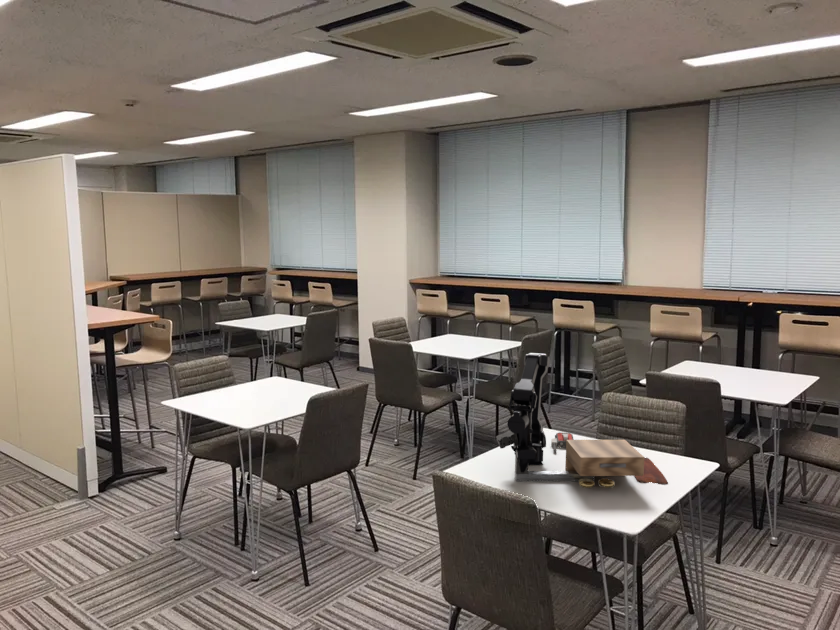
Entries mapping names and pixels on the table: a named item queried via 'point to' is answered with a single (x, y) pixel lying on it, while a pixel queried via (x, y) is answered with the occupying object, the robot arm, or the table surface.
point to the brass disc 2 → (606, 483)
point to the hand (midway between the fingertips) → (521, 470)
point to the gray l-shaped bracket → (546, 475)
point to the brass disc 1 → (586, 483)
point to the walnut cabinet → (603, 458)
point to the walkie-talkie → (561, 440)
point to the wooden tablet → (651, 473)
